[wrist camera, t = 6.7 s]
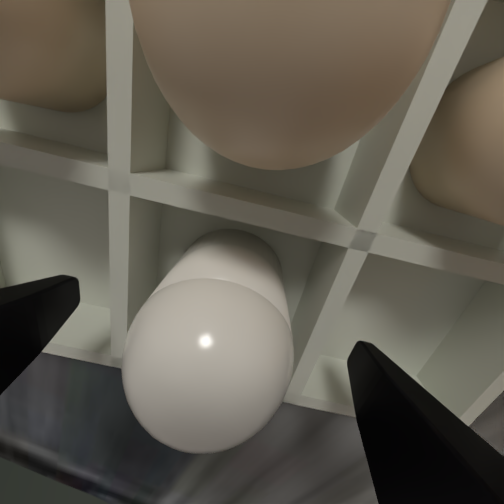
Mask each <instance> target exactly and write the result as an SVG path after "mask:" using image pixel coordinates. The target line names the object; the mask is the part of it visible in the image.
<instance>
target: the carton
mask: <svg viewBox="0 0 504 504" xmlns="http://www.w3.org/2000/svg"><path fill="white" fill-rule="evenodd" d="M220 229H238V230H243V231H246V232H249V233H252V234H254V235H256V236H258V237H259V238H261V239H262V240H264V241H265V242H266V243H267V244H268V245H269V246H270V247H271V248H272V249H273V251H274V252H275V253H276V255H277V257H278V259H279V261H280V264H281V268H282V273H283V280H284V286H285V292H286V299H287V305H288V312H289V318H290V325H291V331H292V337H293V348H294V362H293V371H292V376H291V380H290V384H289V387H288V390H287V393H286V395H285V397H284V399H283V401H282V402H285V403H289V404H294V405H299V406H304V407H309V408H313V409H318V410H323V411H328V412H333V413H337V414H342V415H347V416H352V417H356V415H355V410H354V405H353V399H352V393H351V387H350V381H349V375H348V369H347V359H348V357H349V355H350V353H351V351H352V349H353V347H354V346H355V344H356V342H357V341H360V340H361V341H366V342H370V343H372V344H374V345H375V346H376V347H377V348H378V349H379V350H381V351H382V352H383V353H384V354H385V355H386V356H388V357H389V358H390V359H391V360H392V361H393V362H394V363H396V364H397V365H398V366H399V367H400V368H401V369H403V370H404V371H405V372H406V373H407V374H408V375H409V376H411V377H412V378H413V379H414V380H415V381H416V382H418V383H419V384H420V385H421V386H422V387H423V388H425V389H426V390H427V391H428V392H429V393H430V394H431V395H433V396H434V397H435V398H436V399H437V400H438V401H440V402H441V403H442V404H443V405H444V406H445V407H446V408H448V409H449V410H450V411H451V412H452V413H453V414H455V415H456V416H457V417H458V418H459V419H460V420H462V421H463V422H464V423H465V424H466V425H467V426H469V425H470V424H471V423H472V422H473V421H474V420H475V419H476V418H477V417H478V416H479V415H480V414H481V413H482V412H483V411H484V410H485V409H486V408H487V407H488V406H489V405H490V404H491V403H492V402H493V401H494V400H495V399H496V398H497V397H498V396H499V395H500V394H501V393H502V392H503V391H504V0H0V288H4V287H9V286H13V285H17V284H22V283H26V282H31V281H35V280H39V279H44V278H48V277H53V276H57V275H69V276H73V277H76V278H78V280H79V287H80V303H79V305H78V307H77V308H76V310H75V311H74V312H73V313H72V315H71V316H70V317H69V318H68V320H67V321H66V322H65V323H64V325H63V326H62V327H61V328H60V330H59V331H58V332H57V333H56V335H55V336H54V337H53V338H52V340H51V341H50V342H49V343H48V345H47V346H46V347H45V348H44V349H43V350H42V352H45V353H49V354H54V355H59V356H64V357H69V358H73V359H78V360H83V361H88V362H93V363H97V364H102V365H107V366H112V367H117V368H121V366H122V354H123V348H124V344H125V340H126V336H127V333H128V331H129V328H130V326H131V324H132V322H133V320H134V318H135V316H136V314H137V313H138V311H139V310H140V308H141V307H142V306H143V304H144V303H145V302H146V300H147V299H148V298H149V297H150V295H151V294H152V293H153V292H154V290H155V289H156V288H157V287H158V286H159V284H160V283H161V282H162V281H163V279H164V278H165V277H166V276H167V274H168V273H169V272H170V271H171V269H172V268H173V267H174V266H175V264H176V263H177V262H178V261H179V259H180V258H181V257H182V256H183V254H184V253H185V252H186V251H187V249H188V248H189V247H190V246H191V244H192V243H193V242H194V241H196V240H197V239H198V238H200V237H201V236H203V235H205V234H207V233H209V232H212V231H215V230H220Z"/></svg>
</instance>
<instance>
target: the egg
mask: <svg viewBox="0 0 504 504" xmlns="http://www.w3.org/2000/svg"><path fill="white" fill-rule="evenodd" d="M293 362H294V348H293V337H292V331H291V325H290V318H289V312H288V305H287V299H286V292H285V286H284V280H283V273H282V268H281V264H280V261H279V259H278V257H277V255H276V253H275V252H274V251H273V249H272V248H271V247H270V246H269V245H268V244H267V243H266V242H265V241H264V240H262V239H261V238H259V237H258V236H256V235H254V234H252V233H249V232H246V231H243V230H238V229H220V230H215V231H212V232H209V233H207V234H205V235H203V236H201V237H200V238H198V239H197V240H196V241H194V242H193V243H192V244H191V246H190V247H189V248H188V249H187V251H186V252H185V253H184V254H183V256H182V257H181V258H180V259H179V261H178V262H177V263H176V264H175V266H174V267H173V268H172V269H171V271H170V272H169V273H168V274H167V276H166V277H165V278H164V279H163V281H162V282H161V283H160V284H159V286H158V287H157V288H156V289H155V290H154V292H153V293H152V294H151V295H150V297H149V298H148V299H147V300H146V302H145V303H144V304H143V306H142V307H141V308H140V310H139V311H138V313H137V314H136V316H135V318H134V320H133V322H132V324H131V326H130V328H129V331H128V333H127V336H126V340H125V344H124V348H123V354H122V366H121V370H122V381H123V388H124V392H125V395H126V398H127V401H128V404H129V406H130V408H131V410H132V412H133V414H134V416H135V417H136V419H137V420H138V422H139V423H140V424H141V426H142V427H143V428H144V429H145V430H146V431H147V432H148V433H149V434H150V435H151V436H152V437H154V438H155V439H156V440H158V441H159V442H161V443H163V444H165V445H167V446H169V447H171V448H173V449H176V450H179V451H182V452H187V453H194V454H209V453H217V452H221V451H225V450H228V449H230V448H233V447H236V446H238V445H240V444H242V443H244V442H245V441H247V440H248V439H250V438H251V437H253V436H254V435H255V434H257V433H258V432H259V431H260V430H261V429H262V428H263V427H264V426H265V425H266V424H267V423H268V422H269V421H270V420H271V418H272V417H273V416H274V414H275V413H276V411H277V410H278V409H279V407H280V405H281V403H282V401H283V399H284V397H285V395H286V393H287V390H288V387H289V384H290V380H291V376H292V371H293Z"/></svg>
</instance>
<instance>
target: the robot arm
mask: <svg viewBox="0 0 504 504" xmlns="http://www.w3.org/2000/svg"><path fill="white" fill-rule="evenodd" d="M79 303H80V287H79V280H78V278H76V277H73V276H69V275H57V276H53V277H48V278H44V279H39V280H35V281H31V282H26V283H22V284H17V285H13V286H9V287H4V288H0V395H1V394H2V393H3V392H4V391H5V389H6V388H7V387H8V386H9V385H10V384H11V383H12V382H13V381H14V380H15V379H16V378H17V377H18V376H19V375H20V374H21V373H22V372H23V371H24V370H25V369H26V368H27V366H28V365H29V364H30V363H31V362H32V361H33V360H34V359H35V358H36V357H37V356H38V355H39V354H40V353H41V352H42V350H43V349H44V348H45V347H46V346H47V345H48V343H49V342H50V341H51V340H52V338H53V337H54V336H55V335H56V333H57V332H58V331H59V330H60V328H61V327H62V326H63V325H64V323H65V322H66V321H67V320H68V318H69V317H70V316H71V315H72V313H73V312H74V311H75V310H76V308H77V307H78V305H79ZM347 369H348V375H349V381H350V387H351V393H352V399H353V405H354V410H355V415H356V419H357V423H358V427H359V431H360V435H361V439H362V442H363V446H364V450H365V454H366V458H367V461H368V465H369V469H370V473H371V477H372V480H373V484H374V488H375V492H376V495H377V499H378V503H379V504H504V457H503V456H502V455H501V454H500V453H499V452H497V451H496V450H495V449H494V448H493V447H492V446H490V445H489V444H488V443H487V442H486V441H485V440H484V439H482V438H481V437H480V436H479V435H478V434H477V433H475V432H474V431H473V430H472V429H471V428H470V427H468V426H467V425H466V424H465V423H464V422H463V421H462V420H460V419H459V418H458V417H457V416H456V415H455V414H453V413H452V412H451V411H450V410H449V409H448V408H446V407H445V406H444V405H443V404H442V403H441V402H440V401H438V400H437V399H436V398H435V397H434V396H433V395H431V394H430V393H429V392H428V391H427V390H426V389H425V388H423V387H422V386H421V385H420V384H419V383H418V382H416V381H415V380H414V379H413V378H412V377H411V376H409V375H408V374H407V373H406V372H405V371H404V370H403V369H401V368H400V367H399V366H398V365H397V364H396V363H394V362H393V361H392V360H391V359H390V358H389V357H388V356H386V355H385V354H384V353H383V352H382V351H381V350H379V349H378V348H377V347H376V346H375V345H374V344H372V343H370V342H366V341H361V340H360V341H357V342H356V344H355V346H354V347H353V349H352V351H351V353H350V355H349V357H348V359H347Z"/></svg>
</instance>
